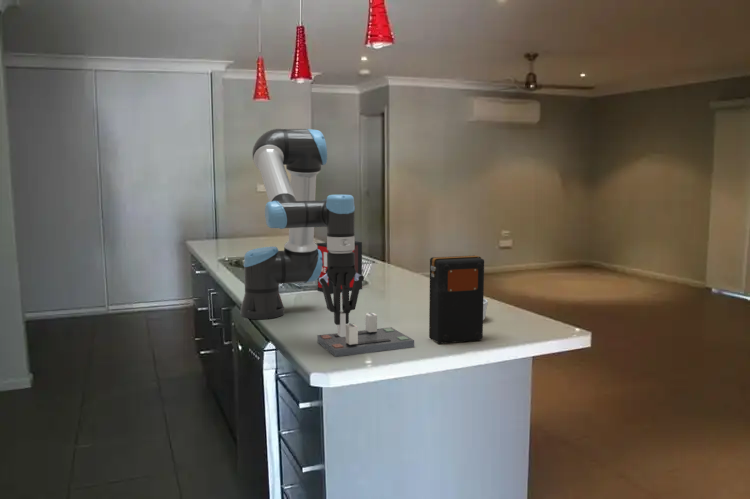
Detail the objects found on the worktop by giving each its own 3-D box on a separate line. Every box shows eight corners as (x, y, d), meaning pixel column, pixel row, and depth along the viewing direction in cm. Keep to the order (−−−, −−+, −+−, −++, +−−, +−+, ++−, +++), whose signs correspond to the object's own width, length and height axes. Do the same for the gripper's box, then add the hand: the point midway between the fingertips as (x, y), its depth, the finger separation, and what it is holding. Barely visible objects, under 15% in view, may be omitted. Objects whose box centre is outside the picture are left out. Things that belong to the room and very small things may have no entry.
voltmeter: (473, 334, 196) (475, 254, 193) (486, 341, 188) (488, 258, 185) (426, 338, 192) (427, 256, 188) (437, 345, 184) (438, 260, 180)
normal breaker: (365, 329, 192) (365, 313, 191) (373, 329, 193) (373, 312, 192) (369, 332, 189) (369, 315, 188) (377, 331, 190) (376, 314, 189)
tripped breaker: (345, 341, 179) (345, 323, 178) (354, 340, 180) (353, 323, 179) (349, 344, 176) (349, 326, 175) (357, 343, 177) (357, 325, 176)
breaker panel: (317, 342, 188) (317, 334, 187) (391, 333, 197) (391, 326, 197) (335, 356, 173) (335, 349, 173) (414, 347, 182) (414, 339, 182)
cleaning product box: (349, 286, 275) (349, 240, 272) (362, 289, 268) (361, 242, 265) (317, 290, 264) (317, 243, 262) (329, 294, 258) (329, 245, 255)
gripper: (322, 254, 167) (323, 341, 170) (368, 251, 172) (368, 336, 175) (313, 251, 174) (315, 334, 177) (358, 248, 179) (358, 330, 182)
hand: (341, 335), depth 176 cm, fingers closed
